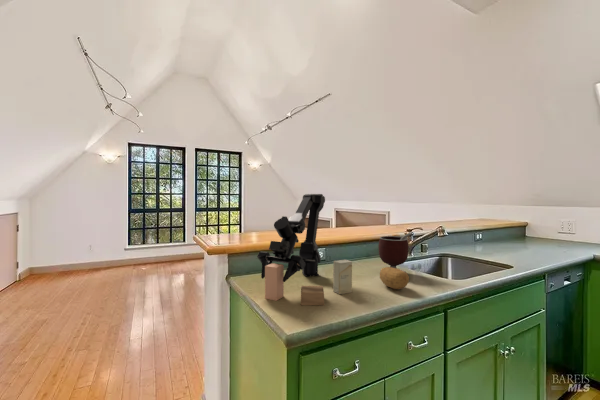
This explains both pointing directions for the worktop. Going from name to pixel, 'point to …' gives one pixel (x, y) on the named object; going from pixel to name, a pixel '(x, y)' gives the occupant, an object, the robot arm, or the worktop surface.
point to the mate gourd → (394, 250)
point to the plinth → (312, 295)
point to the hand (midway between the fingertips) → (272, 279)
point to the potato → (394, 277)
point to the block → (274, 281)
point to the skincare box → (342, 276)
